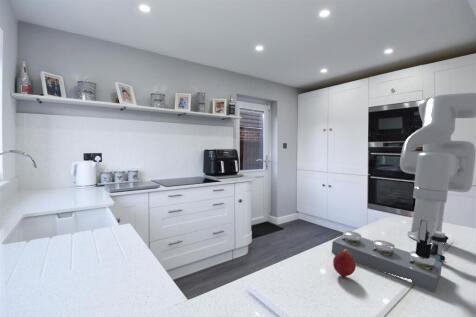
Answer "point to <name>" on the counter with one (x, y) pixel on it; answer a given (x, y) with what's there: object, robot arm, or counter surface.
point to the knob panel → (390, 262)
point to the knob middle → (383, 247)
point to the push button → (438, 246)
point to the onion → (344, 263)
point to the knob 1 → (352, 237)
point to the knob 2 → (422, 260)
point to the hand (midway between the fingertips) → (422, 255)
